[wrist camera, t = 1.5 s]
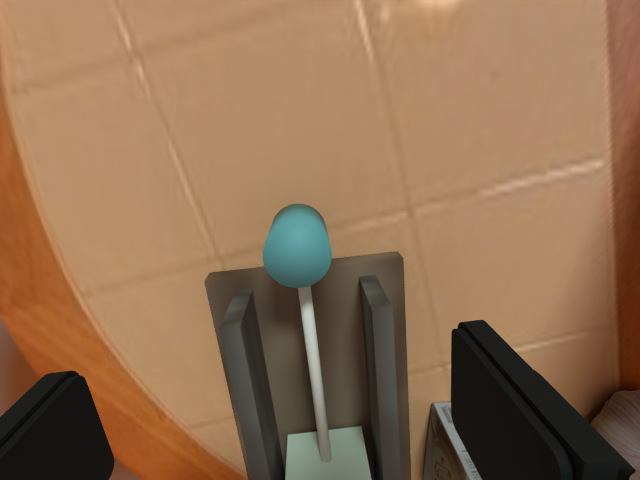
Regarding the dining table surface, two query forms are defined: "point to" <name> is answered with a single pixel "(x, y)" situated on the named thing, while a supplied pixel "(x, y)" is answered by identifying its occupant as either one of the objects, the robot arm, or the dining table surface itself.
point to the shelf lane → (335, 360)
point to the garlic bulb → (621, 425)
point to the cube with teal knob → (312, 347)
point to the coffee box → (446, 449)
